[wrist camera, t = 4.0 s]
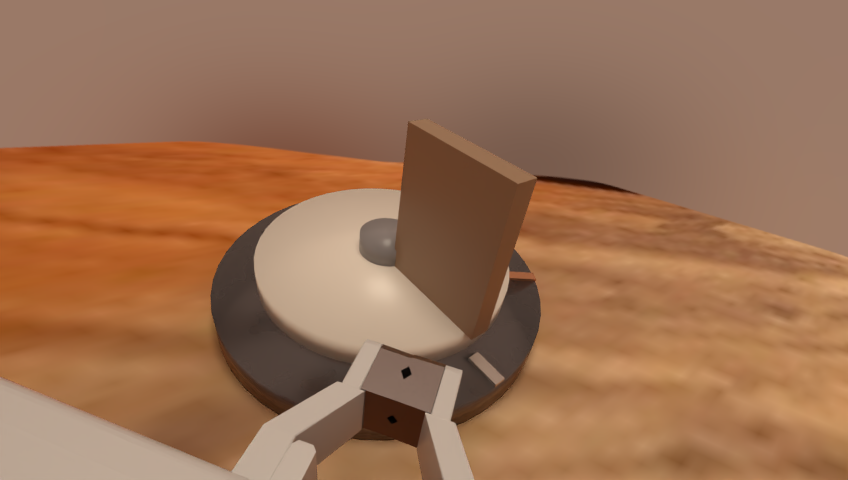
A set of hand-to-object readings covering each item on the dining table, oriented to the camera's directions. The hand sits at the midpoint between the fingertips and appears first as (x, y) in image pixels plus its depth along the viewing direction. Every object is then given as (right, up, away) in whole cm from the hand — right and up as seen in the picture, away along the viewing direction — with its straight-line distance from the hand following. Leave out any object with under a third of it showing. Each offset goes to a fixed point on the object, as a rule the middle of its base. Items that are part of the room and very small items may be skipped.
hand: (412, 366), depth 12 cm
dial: (-2, +2, +15) cm, 15 cm away
